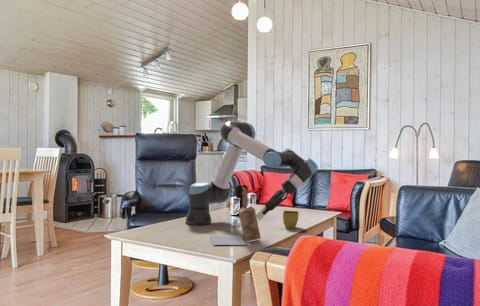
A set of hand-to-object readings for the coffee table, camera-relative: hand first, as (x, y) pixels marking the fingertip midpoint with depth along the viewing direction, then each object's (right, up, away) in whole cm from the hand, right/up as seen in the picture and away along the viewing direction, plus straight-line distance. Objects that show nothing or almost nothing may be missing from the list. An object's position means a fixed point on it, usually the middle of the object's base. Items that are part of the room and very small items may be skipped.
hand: (257, 218), depth 185 cm
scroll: (-8, -10, +73) cm, 74 cm away
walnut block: (-2, -10, 0) cm, 11 cm away
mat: (-14, -11, -1) cm, 18 cm away
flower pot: (+21, -12, +35) cm, 43 cm away
